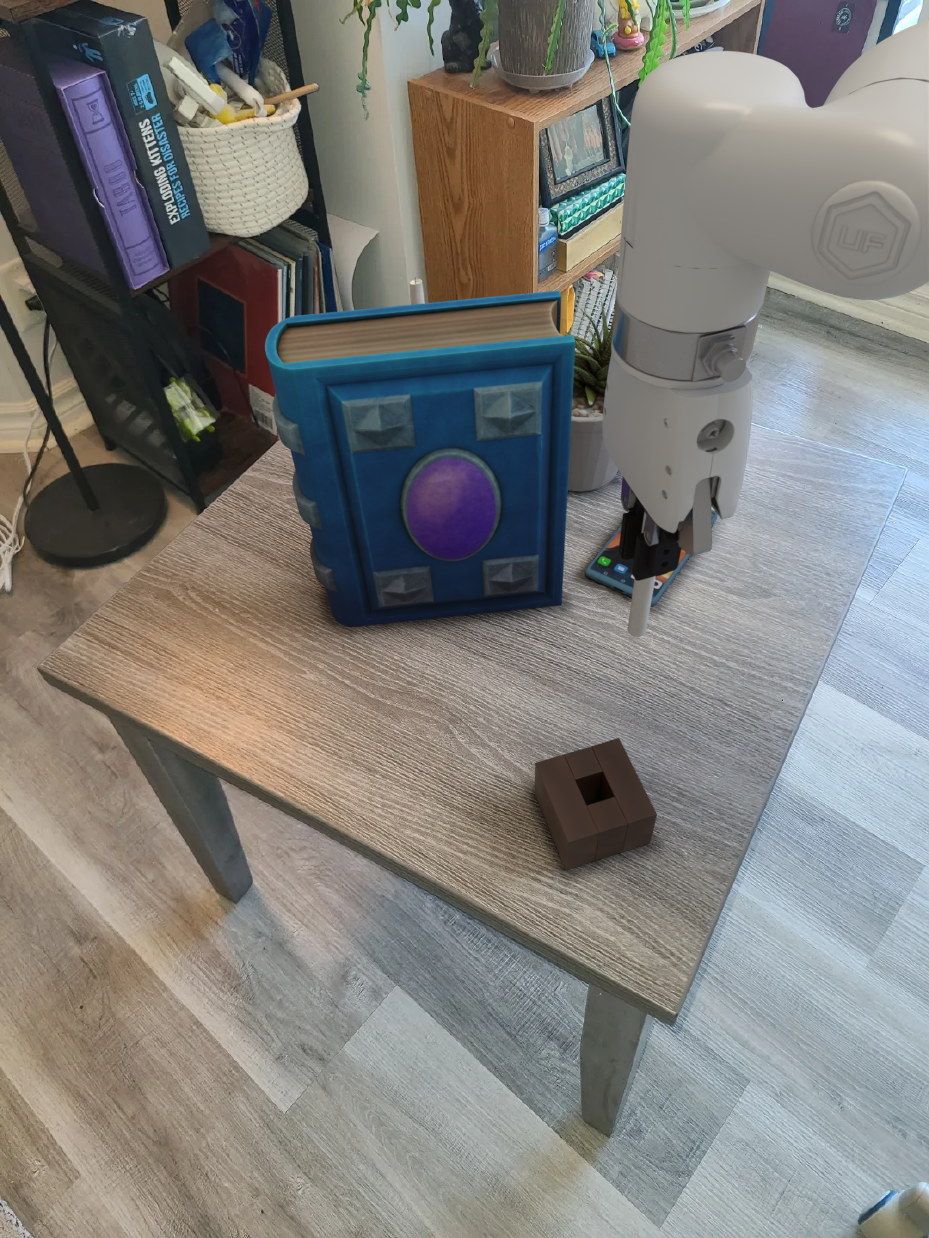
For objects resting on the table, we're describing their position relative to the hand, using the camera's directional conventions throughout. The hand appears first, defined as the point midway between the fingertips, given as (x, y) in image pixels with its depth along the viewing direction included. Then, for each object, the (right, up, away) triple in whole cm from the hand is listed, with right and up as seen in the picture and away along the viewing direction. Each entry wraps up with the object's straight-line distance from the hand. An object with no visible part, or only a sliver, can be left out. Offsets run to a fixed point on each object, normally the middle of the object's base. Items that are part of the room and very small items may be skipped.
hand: (647, 561), depth 62 cm
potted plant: (+1, +13, +41) cm, 43 cm away
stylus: (0, -5, +6) cm, 8 cm away
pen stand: (-2, -21, +13) cm, 25 cm away
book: (-15, -2, +30) cm, 33 cm away
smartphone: (+7, +3, +33) cm, 34 cm away
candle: (-17, +25, +52) cm, 61 cm away
